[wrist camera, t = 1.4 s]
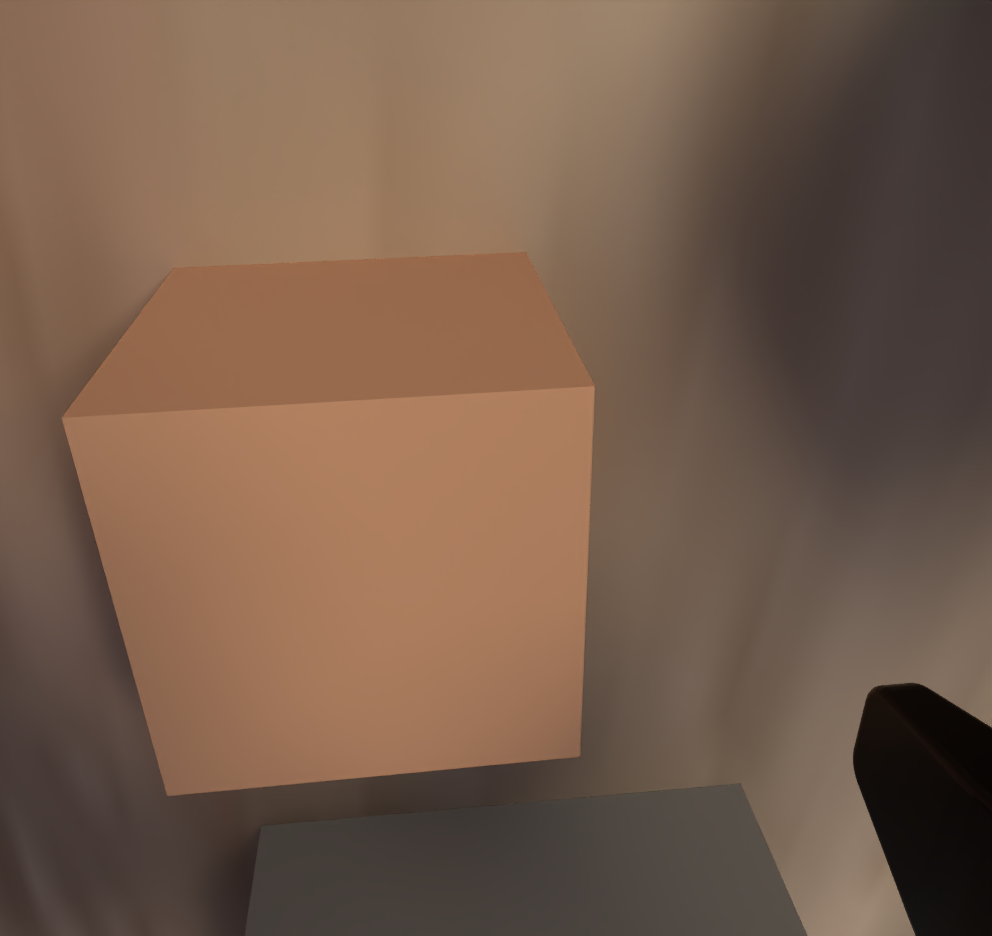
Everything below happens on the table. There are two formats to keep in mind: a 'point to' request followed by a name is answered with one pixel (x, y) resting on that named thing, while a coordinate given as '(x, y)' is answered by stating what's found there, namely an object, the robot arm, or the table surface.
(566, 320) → the table surface
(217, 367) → the terracotta cube
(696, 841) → the slate block
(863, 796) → the robot arm
